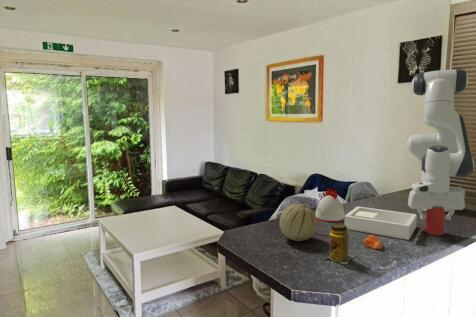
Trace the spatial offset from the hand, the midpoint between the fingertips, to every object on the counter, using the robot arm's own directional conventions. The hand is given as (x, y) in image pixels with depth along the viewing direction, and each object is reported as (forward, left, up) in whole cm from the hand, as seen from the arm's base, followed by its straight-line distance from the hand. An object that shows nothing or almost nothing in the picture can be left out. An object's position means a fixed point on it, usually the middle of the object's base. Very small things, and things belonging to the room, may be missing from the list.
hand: (435, 219), depth 135 cm
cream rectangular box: (+7, -26, -5) cm, 27 cm away
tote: (+7, -20, -6) cm, 21 cm away
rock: (+27, -17, -7) cm, 33 cm away
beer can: (0, 0, -6) cm, 6 cm away
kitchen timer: (+4, -43, -6) cm, 44 cm away
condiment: (+44, -24, -6) cm, 50 cm away
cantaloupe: (+36, -44, -6) cm, 57 cm away
